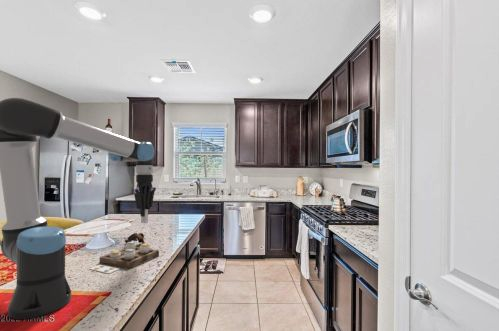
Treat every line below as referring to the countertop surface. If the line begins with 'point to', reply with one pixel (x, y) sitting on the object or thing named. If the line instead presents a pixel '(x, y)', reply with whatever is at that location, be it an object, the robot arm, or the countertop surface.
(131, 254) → the button inner right
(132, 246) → the button outer left
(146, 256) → the button board
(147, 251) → the button outer right
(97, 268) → the pattern card
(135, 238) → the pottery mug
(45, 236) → the robot arm
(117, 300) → the countertop surface
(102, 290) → the countertop surface
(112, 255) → the button inner left
